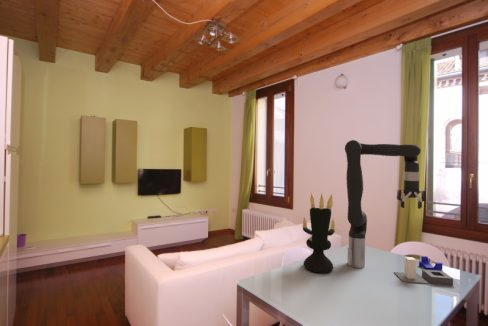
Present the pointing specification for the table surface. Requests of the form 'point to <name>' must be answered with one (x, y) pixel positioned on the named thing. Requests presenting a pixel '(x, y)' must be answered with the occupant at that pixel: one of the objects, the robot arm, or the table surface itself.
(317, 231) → the candelabra
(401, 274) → the mat
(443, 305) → the table surface
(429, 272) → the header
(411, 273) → the plug
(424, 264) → the cable clip
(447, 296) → the table surface
